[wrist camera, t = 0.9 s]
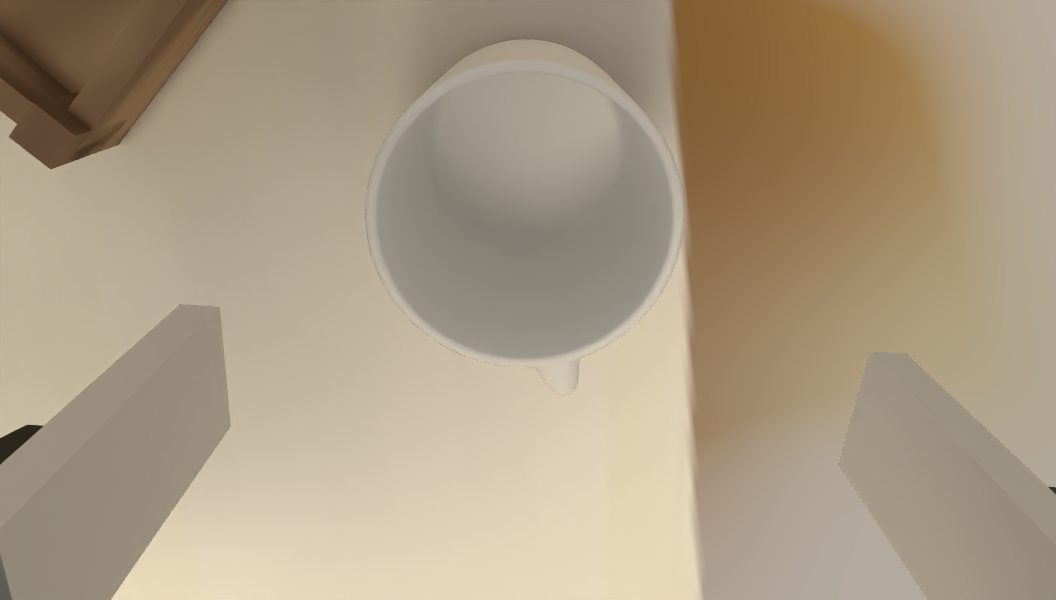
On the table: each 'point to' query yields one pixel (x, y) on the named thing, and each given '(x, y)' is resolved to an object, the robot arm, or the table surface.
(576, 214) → the mug
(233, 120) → the table surface
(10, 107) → the wooden tray
